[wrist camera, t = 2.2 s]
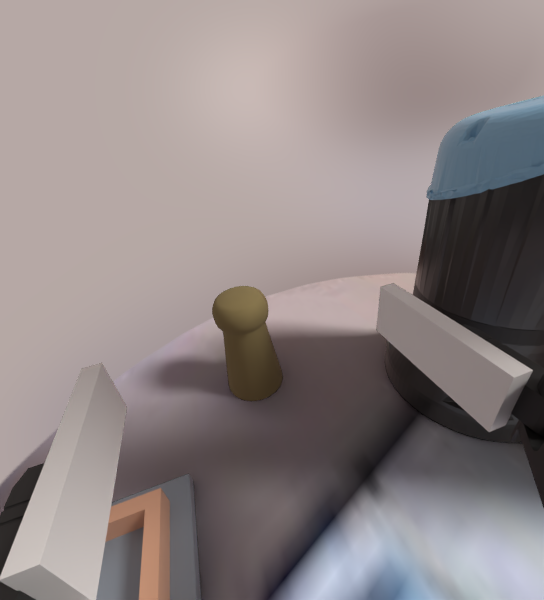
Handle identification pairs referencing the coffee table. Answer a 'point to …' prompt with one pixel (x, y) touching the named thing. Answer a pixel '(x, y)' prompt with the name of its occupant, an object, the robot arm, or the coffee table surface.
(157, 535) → the pallet plate
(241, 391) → the cork
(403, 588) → the coffee table surface
